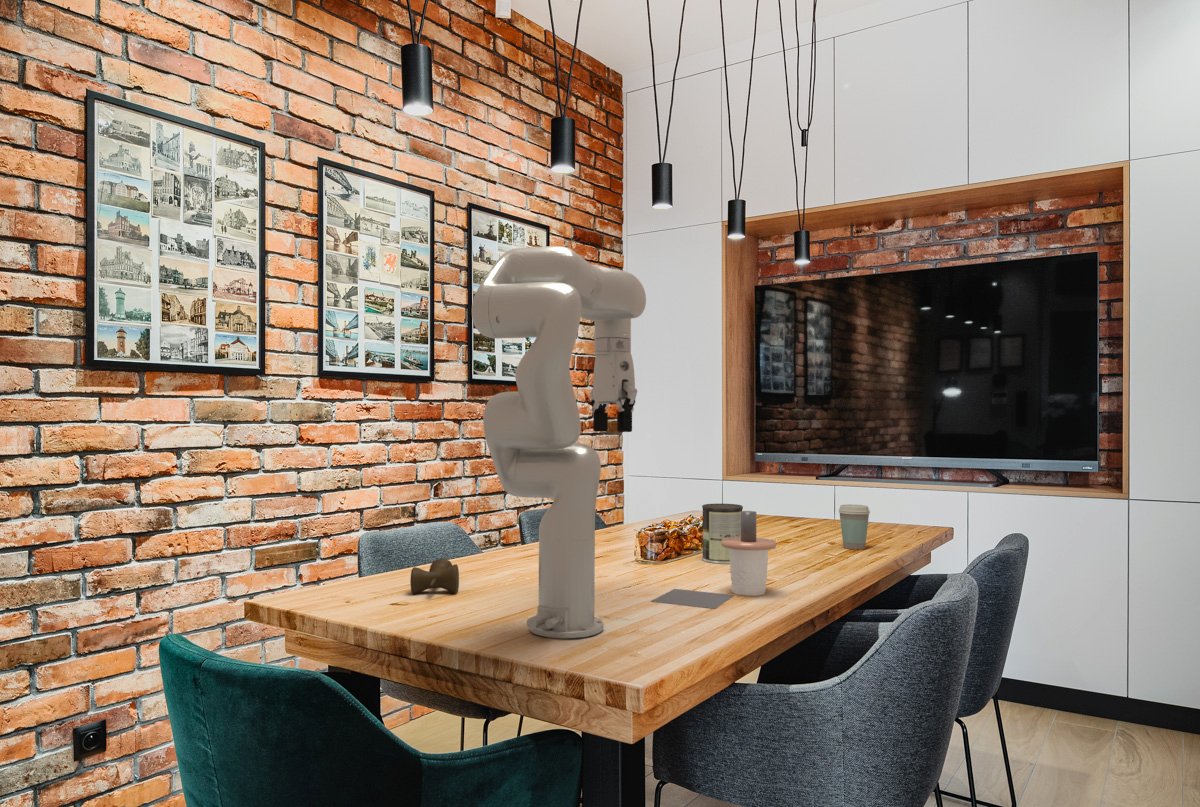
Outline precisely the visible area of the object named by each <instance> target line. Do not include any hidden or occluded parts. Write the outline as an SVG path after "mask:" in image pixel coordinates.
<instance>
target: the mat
mask: <svg viewBox="0 0 1200 807" xmlns="http://www.w3.org/2000/svg"><path fill="white" fill-rule="evenodd" d="M733 597H736V595H735V594H727V593H717V592H708V591H701V590H699V591H698V590H689V589H679V588H673V589H672V590H669V591H668V592H666V593H664V594H662V595H659V596H658V597H656V598H654V599H652V600H650V601H649V602H651V603H657V604H666V605H667V604H668V605H676V606H685V607H693V608H703V609H710V610H711V609H712V610H716V609H718V608H719V607H721V606H722V605H723V604H725V603H726V602H728V601H729V600H730V599H732V598H733Z"/></svg>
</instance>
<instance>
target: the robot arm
mask: <svg viewBox="0 0 1200 807" xmlns="http://www.w3.org/2000/svg"><path fill="white" fill-rule="evenodd" d="M646 305H647V295H646V291H645V288H644V285H643V284H642V282H641V281H640V279H638V277H637V276H635V275H634V274H632V273H631V272H628V271H624V270H619V269H616V268H611V267H607V266H602V265H600V264H599V265H598V264H592V263H591V262H589V261H587V260H586V259H585V258H583V257H582V256H581V255H580V254H578V253H577V252H576V251H574V250H573V249H571V248H570V247H567V246H561V245H550V246H535V247H534V246H533V247H518V248H517V247H516V248H512V249H510V250H508V251H506V252H505V253H503V254H502V255H501V256H500V257H499V258H498V259H497V260H496V262H495V263H494V264H493V265H492V267H491V268H490V270H489V272H488V273H487V275H486V276H485V278H483V280H482V282H481V283H480V285H479V286H478V287H477V290H476V292H475V294H474V296H473V300H472V304H471V318H472V322H473V325H474V327H475V328H476V331H478V332H479V333H480V334H481V335H482V336H484V337H487V338H491V339H524V338H525V339H527V338H535V340H534V342H533V343H532V344H531V346H530V347H529V348H528V349H527V351H526V352H525V353H524V355H523V356H522V358H521V359H520V361H519V363H518V364H517V367H516V370H515V373H514V375H515V376H514V377H515V382H516V388H517V391H504V392H503V391H502V392H498V393H496V394H494V395H493V396H491V398H489V399H488V401H487V403H486V405H485V407H484V409H483V410H484V412H483V420H482V424H483V434H484V438H485V442H486V445H487V448H488V451H489V454H490V456H491V459H492V463H493V467H494V468H495V472H496V474H497V477H498V480H499V483H500V485H501V486H502V489H503V490H504V491H505V492H506V493H507V494H508V495H510V496H512V497H517V498H518V497H520V498H534V499H535V498H539V499H552V500H553V502H552V504H551V505H550V506H549V508H548V509H547V511H546V512H545V513H544V514H543V516H542V517H541V520H540V522H539V526H538V605H537V613H536V615H533V616H531V617H529V618H528V619H527V620H526V626H527V628H528V629H529V632H531V633H532V634H534V635H536V636H541V637H544V638H550V639H551V638H552V639H580V638H587V637H591V636H594V635H597V634H599V633H601V632H602V631H604V621H603V620H602V619H601V618H599V617H597V616H595V602H596V599H595V597H596V596H595V588H596V587H595V583H596V582H595V580H596V578H595V576H596V574H595V573H596V571H595V570H596V569H595V567H596V566H595V563H596V560H595V559H596V556H595V555H596V553H595V552H596V543H595V542H596V536H595V535H596V534H595V533H596V511H597V510H596V507H597V496H598V490H599V486H600V484H599V483H600V478H601V472H602V471H601V470H602V466H601V465H602V464H601V458H600V455H599V454H598V452H597V450H595V449H594V448H593V447H592V446H590V445H587V444H583V443H580V442H577V441H579V439H580V436H581V432H582V425H581V417H580V416H581V415H580V410H579V407H578V402H577V399H576V398H577V397H576V395H575V391H574V386H573V382H572V378H571V377H572V376H571V373H570V372H571V370H570V364H571V358H572V355H573V351H574V347H575V345H576V339H577V336H578V332H579V327H580V324H581V319H584V320H585V321H594V349H593V350H594V354H593V355H594V356H595V358H594V359H595V360H594V366H593V378H592V379H593V380H592V381H593V382H592V389H591V390H590V392H589V397H590V405H591V407H592V408H591V410H592V413H593V418H592V419H593V426H592V427H593V428H592V430H593V432H608V431H609V430H608V429H609V427H608V424H609V419H608V418H609V412H607V409H608V407H609V405H610V403H611V404H616V406H617V408H618V411H616V431H617V432H618V433H632V432H633V412H634V410H635V408H634V406H635V404H636V397H637V394H638V389H637V388H636V380H635V379H636V378H635V368H634V360H633V357H632V354H631V353H632V341H631V340H632V319H637V318H639V317H640V316H642V315H643V313H644V311H645V309H646Z"/></svg>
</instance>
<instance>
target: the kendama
mask: <svg viewBox="0 0 1200 807" xmlns="http://www.w3.org/2000/svg"><path fill="white" fill-rule="evenodd" d="M409 580H410V590H411V594H412V595H416V594H420V593H421V592H422V593H423V591H426V590H430V589H444V590H446V591H449V592H450V593H452V594H454V595H455V594H456V595H457V594H458V593H459V592H458V591H459V588H460V572H459V566H458V564H452V562H451V561H450V560H449V559H447V558H438V559H435V560H433V561H432V563H431V564H430V567H429V570H428V571H427V570H424V569H421V568H419V567H416V566H414V567H412V569H411V572H410V579H409Z"/></svg>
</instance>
